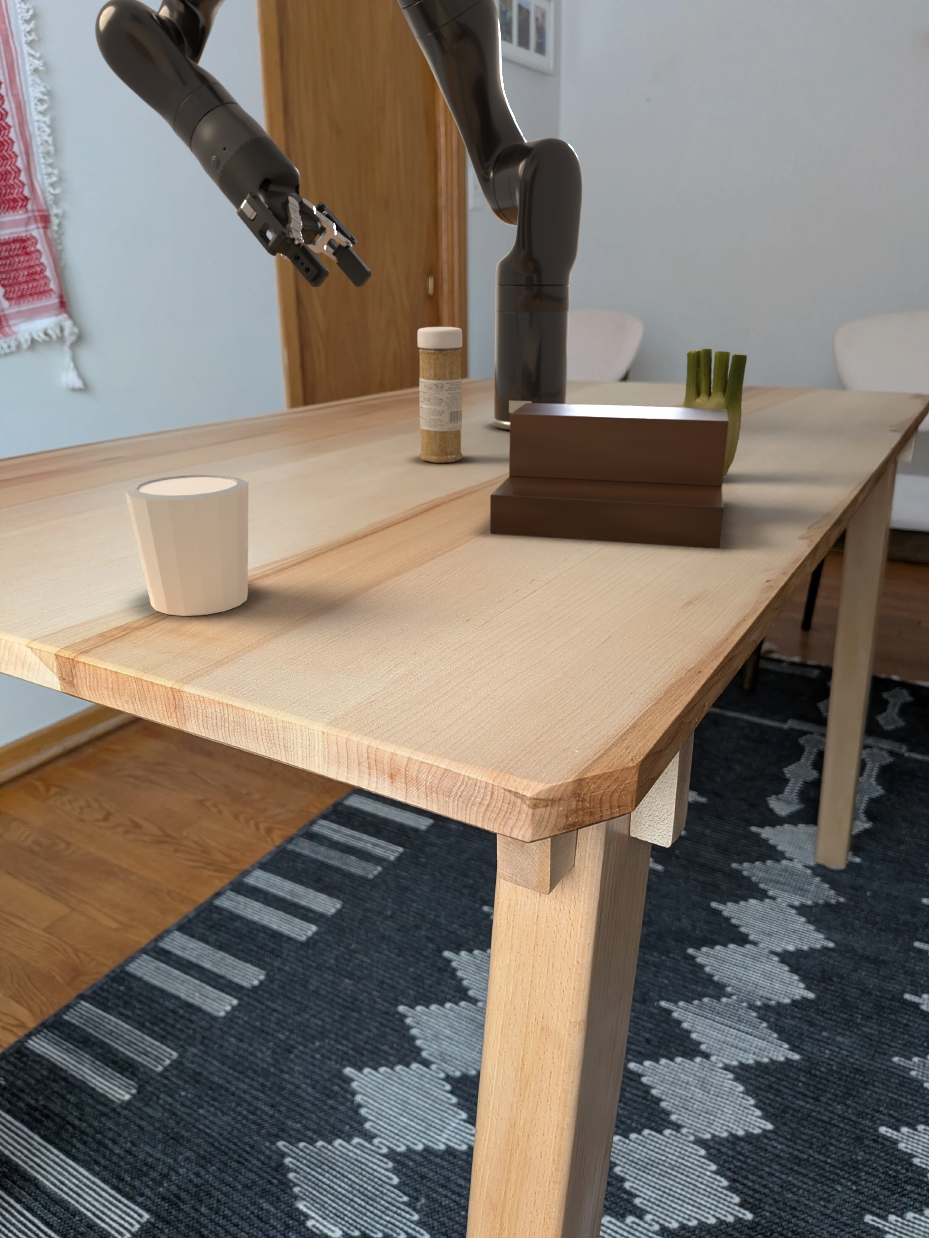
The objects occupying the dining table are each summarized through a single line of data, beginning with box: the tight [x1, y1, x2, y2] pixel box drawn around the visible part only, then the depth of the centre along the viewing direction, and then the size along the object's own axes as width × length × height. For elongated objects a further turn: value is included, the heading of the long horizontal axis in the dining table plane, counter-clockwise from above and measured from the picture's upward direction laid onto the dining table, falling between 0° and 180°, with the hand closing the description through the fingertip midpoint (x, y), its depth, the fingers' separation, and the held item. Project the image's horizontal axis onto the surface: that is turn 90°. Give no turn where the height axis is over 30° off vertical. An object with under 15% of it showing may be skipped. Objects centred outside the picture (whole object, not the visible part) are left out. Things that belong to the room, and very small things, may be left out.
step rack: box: [489, 403, 729, 549], centre depth 72 cm, size 14×17×8 cm
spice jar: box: [416, 326, 463, 464], centre depth 95 cm, size 5×5×14 cm
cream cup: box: [124, 474, 249, 617], centre depth 54 cm, size 7×7×7 cm
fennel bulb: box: [682, 348, 748, 478], centre depth 86 cm, size 6×5×12 cm
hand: (344, 281), depth 95 cm, fingers open, 8 cm apart
